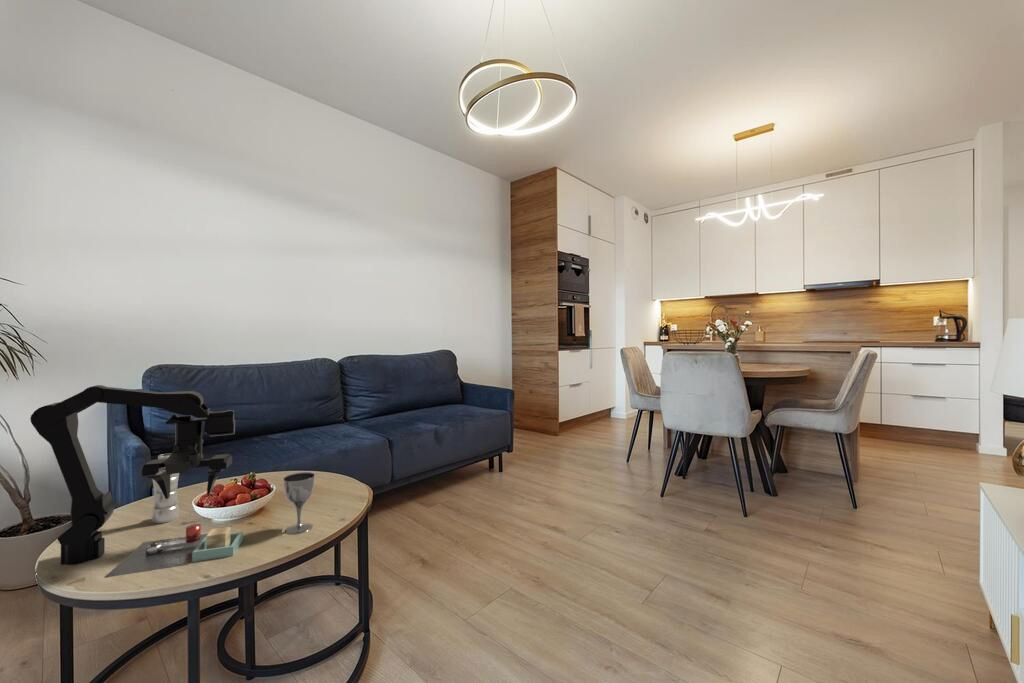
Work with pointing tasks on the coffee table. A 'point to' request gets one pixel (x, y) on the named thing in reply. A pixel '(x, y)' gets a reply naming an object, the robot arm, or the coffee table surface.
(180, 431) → the robot arm
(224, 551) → the tray
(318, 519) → the coffee table surface
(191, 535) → the crank
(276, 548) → the coffee table surface
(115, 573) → the bedplate
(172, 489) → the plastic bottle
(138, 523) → the coffee table surface
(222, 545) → the block
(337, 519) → the coffee table surface
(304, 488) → the wine glass
